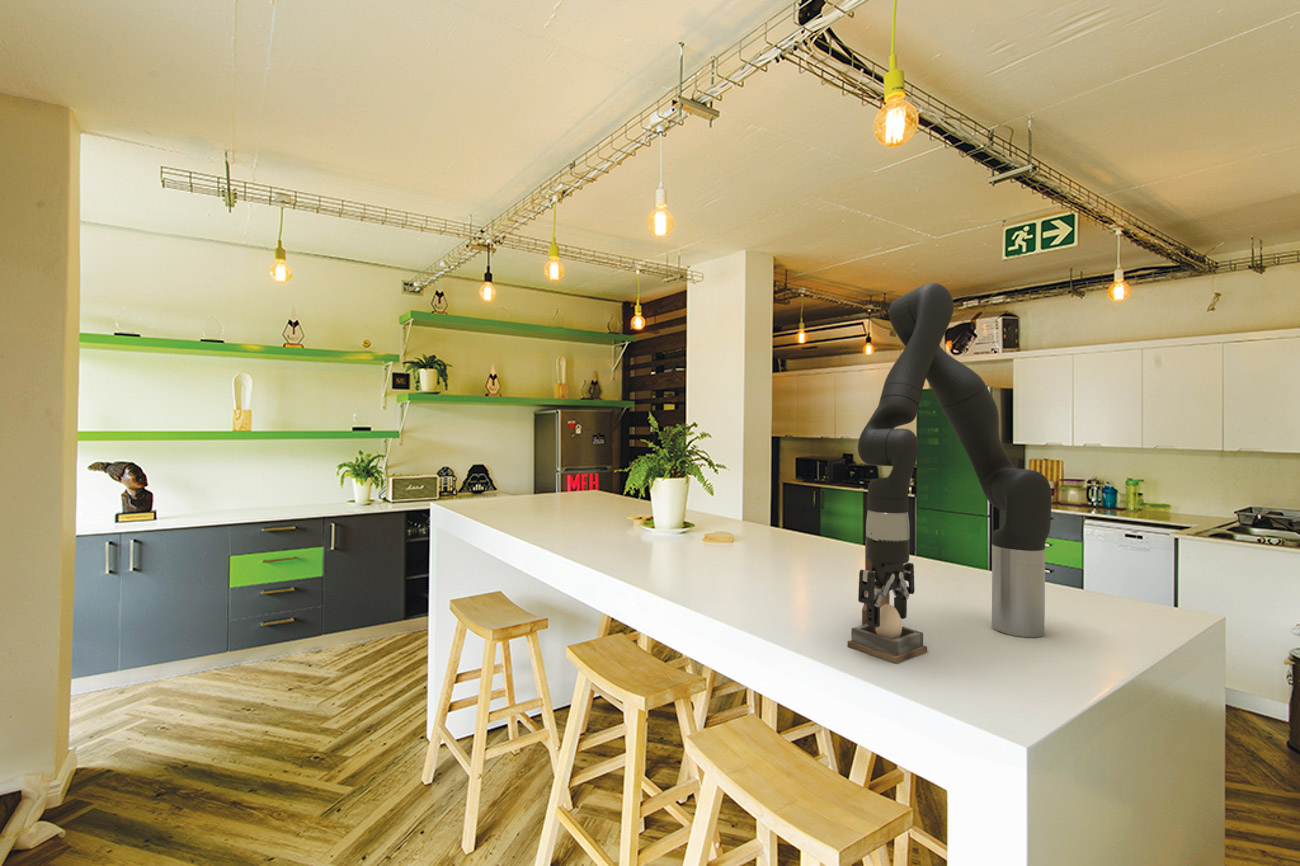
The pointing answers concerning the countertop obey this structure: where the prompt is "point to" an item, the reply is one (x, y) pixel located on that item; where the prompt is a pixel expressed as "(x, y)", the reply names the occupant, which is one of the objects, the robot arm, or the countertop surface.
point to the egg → (889, 622)
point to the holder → (887, 643)
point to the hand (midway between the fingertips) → (887, 621)
